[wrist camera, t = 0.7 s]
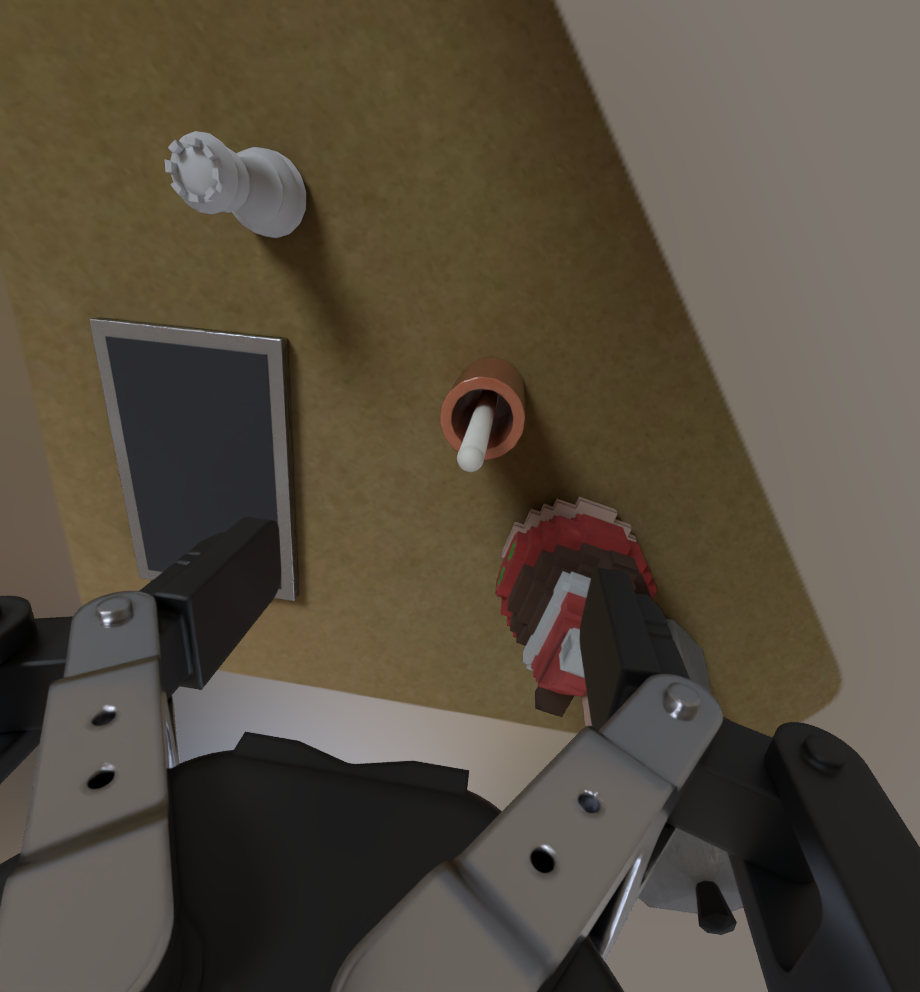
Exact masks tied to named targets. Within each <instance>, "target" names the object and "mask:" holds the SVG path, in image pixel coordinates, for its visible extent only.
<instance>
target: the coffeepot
mask: <svg viewBox="0 0 920 992" xmlns="http://www.w3.org/2000/svg"><path fill="white" fill-rule="evenodd" d="M665 619H666V621H667V627H669V629H670V631H671V634H672V636H673V637H672V639H673V640H674V641H675V643H676V646H677V648H678V651H679V653H680V655H681V658H682V660H683V663H684V665H685V668H686V670H687V672H688V675H689V677H690V680H691V681H693V682H695V683H697V684H698V685H700V686H702V687H703V688H704V689H706V690H707V691H708V692H709V693H710V694H711V695H712V693H711V688H710V683H709V679H708V674H707V669H706V664H705V659H704V654H703V650H702V649H701V648H700V647H699V646H698V645H697V643H696V642H695V641H694V640H693V639H692V638H691V636H690V635H689V634H688V633H687V632H686V631H685V630H684V629H683V628H681V627H680V626H679V624H678V623H677V622H676V621H675V620H672V619H667V618H665ZM638 898H639V899H640V900H642V901H643V902H644V903H645V904H646V905H648V906H649V907H653V908H660V909H667V910H675V911H682V912H690V913H697V914H698V920H699V926H700V927H701V928H702V929H703V930H704V931H706V932H707V933H712V934H719V935H722V934H725V933H728V932H731V931H733V930H734V928H735V926H736V923H737V922H736V920H735V918H734V916H733V914H732V912H731V911H734V910H737V909H740V908H743V904H742V901H741V897H740V894H739V891H738V887H737V884H736V880H735V877H734V874H733V870H732V867H731V863H730V860H729V857H728V853H727V852H726V851H724V850H722V849H720V848H718V847H715V846H713V845H711V844H709V843H707V842H705V841H703V840H701V839H699V838H697V837H695V836H693V835H691V834H688V833H686V832H684V831H682V830H680V829H678V831H677V832H676V834H675V836H674V837H673V839H672V841H671V842H670V844H669V846H668V848H667V849H666V851H665V853H664V854H663V856H662V858H661V859H660V861H659V863H658V865H657V866H656V868H655V870H654V871H653V873H652V875H651V876H650V878H649V880H648V881H647V883H646V885H645V887H644V888H643V890H642V892H641V893H640V895H639V897H638Z"/></svg>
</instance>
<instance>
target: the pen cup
mask: <svg viewBox="0 0 920 992" xmlns="http://www.w3.org/2000/svg"><path fill="white" fill-rule="evenodd" d="M484 389H486V390H493V391H494V392H496V393H498V400H497V404H496V409H495V413H494V418H493V422H492V426H491V431H490V435H489V440H488V444H487V448H486V453H485V457H484V460H489V459H493V458H497V457H501V456H503V455H504V454H506V453H507V452H508V451H510V450H511V449H512V448H514V446H515V445H516V444H517V442H518V440H519V439H520V437H521V435H522V433H523V430H524V423H525V387H524V383H523V380H522V377H521V375H520V374H519V372H518V371H517V370H516V368H515V367H514V366H512V365H511V364H510V363H508V362H506V361H504V360H502V359H498V358H483V359H480V360H477V361H475V362H473V363H472V364H470V365H469V366H468V367H467V368H466V369H465V370H464V371H463V372H462V373H461V375H460V376H459V378H458V379H457V381H456V382H455V384H454V385H453V387H452V388H451V390H450V392H449V393H448V395H447V397H446V399H445V401H444V403H443V405H442V407H441V418H440V424H441V427H442V430H443V433H444V436H445V438H446V440H447V441H448V442H449V443H450V445H451V446H452V447H453V448H454V449H455V450H456V451H457V452H459V450H460V447H461V445H462V442H463V439H464V437H465V434H466V432H467V429H468V426H469V424H470V421H471V418H472V416H473V413H474V411H475V408H476V405H477V403H478V400H479V397H480V395H481V392H482V391H483V390H484Z"/></svg>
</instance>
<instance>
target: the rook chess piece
mask: <svg viewBox="0 0 920 992" xmlns="http://www.w3.org/2000/svg"><path fill="white" fill-rule="evenodd" d="M168 148H169V149H170V150H171V151H172V152H173V153H172V157H171V160H170V161H168V160H165V171H166V172H167V173H170V174H171V176H172V179H173V183H172V184H171V186H172V187H173V188H174V190H175V191H176V192H177V193H178V195H180V196H181V197H182V198H183V200H184V201H185V202H186V203H187V205H189V206H191V207H192V208H194V209H195V210H197V211H198V212H201V213H207V214H216V213H219V212H227V213H229V212H232V213H233V214H234V216H235V217H236V218H237V220H238V221H239V222H240V223H241V224H242V225H243V226H245V227H246V228H248V229H250V230H251V231H253V232H254V233H257V234H261V235H262V236H267V237H273V238H278V237H282V236H285V235H288V234H290V233H291V232H292V231H293V230H294V229H295V228H296V227H297V226H298V225H299V224H300V223H301V220H302V218H303V215H304V213H305V210H306V190H305V187H304V183H303V180H302V177H301V174H300V173H299V172H298V170H297V169H296V168H295V166H294V165H293V163H292V162H291V161H290V160H289V159H287V158H286V157H284V156H283V155H281V154H280V153H278V152H277V151H271V150H270V149H264V148H257V147H252V148H249V149H246V150H243V151H241V152H238V153H237V154H236V153H235V152H233V151H232V150H230V149H229V148H227V147H225V145H224V144H223V143H222V142H221V141H220V140H218V139H217V138H215V137H214V136H212V135H211V134H209V133H203V132H196V131H195V132H192V133H190V134H187V135H184V136H183V137H182V138H181V139H180V140H179V141H177V140H174V141H173V142H172V144H171V145H170V146H169V147H168Z"/></svg>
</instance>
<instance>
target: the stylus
mask: <svg viewBox="0 0 920 992" xmlns="http://www.w3.org/2000/svg"><path fill="white" fill-rule="evenodd" d="M497 400H498V393H496V392H494V391H493V390H486V389H484V390H483V391H482V392H481V395H480V397H479V400H478V403H477V405H476V408H475V411H474V413H473V416H472V418H471V421H470V424H469V426H468V429H467V432H466V434H465V437H464V439H463V442H462V445H461V447H460V450H459V452H458V456H457V461H458V464H459V466H460V467H461V468H462V469H463V470H465V471H468V472H473V471H476V470H478V469H479V468H480V467H481V466H482V464H483V462H484V457H485V453H486V448H487V444H488V440H489V435H490V431H491V426H492V422H493V418H494V413H495V409H496V404H497Z"/></svg>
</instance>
